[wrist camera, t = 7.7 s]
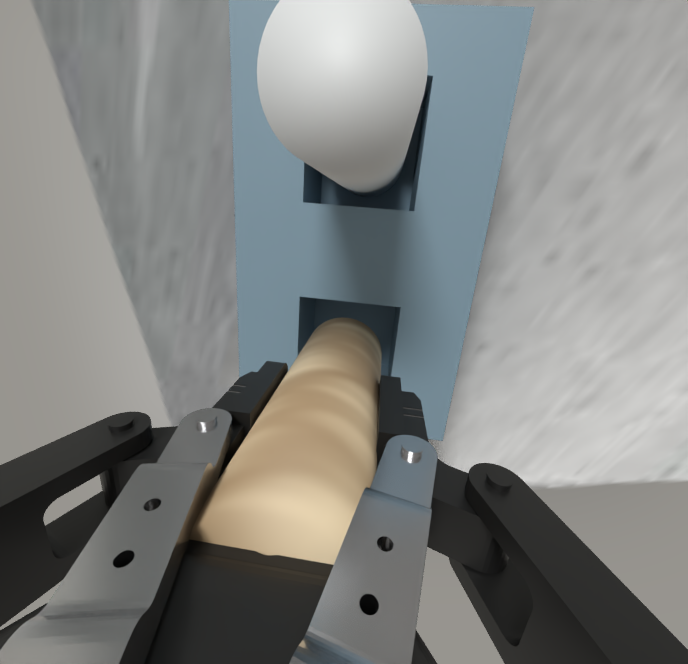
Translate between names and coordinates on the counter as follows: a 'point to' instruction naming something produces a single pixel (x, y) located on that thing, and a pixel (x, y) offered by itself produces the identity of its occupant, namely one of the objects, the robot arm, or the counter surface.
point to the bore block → (368, 174)
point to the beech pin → (304, 453)
